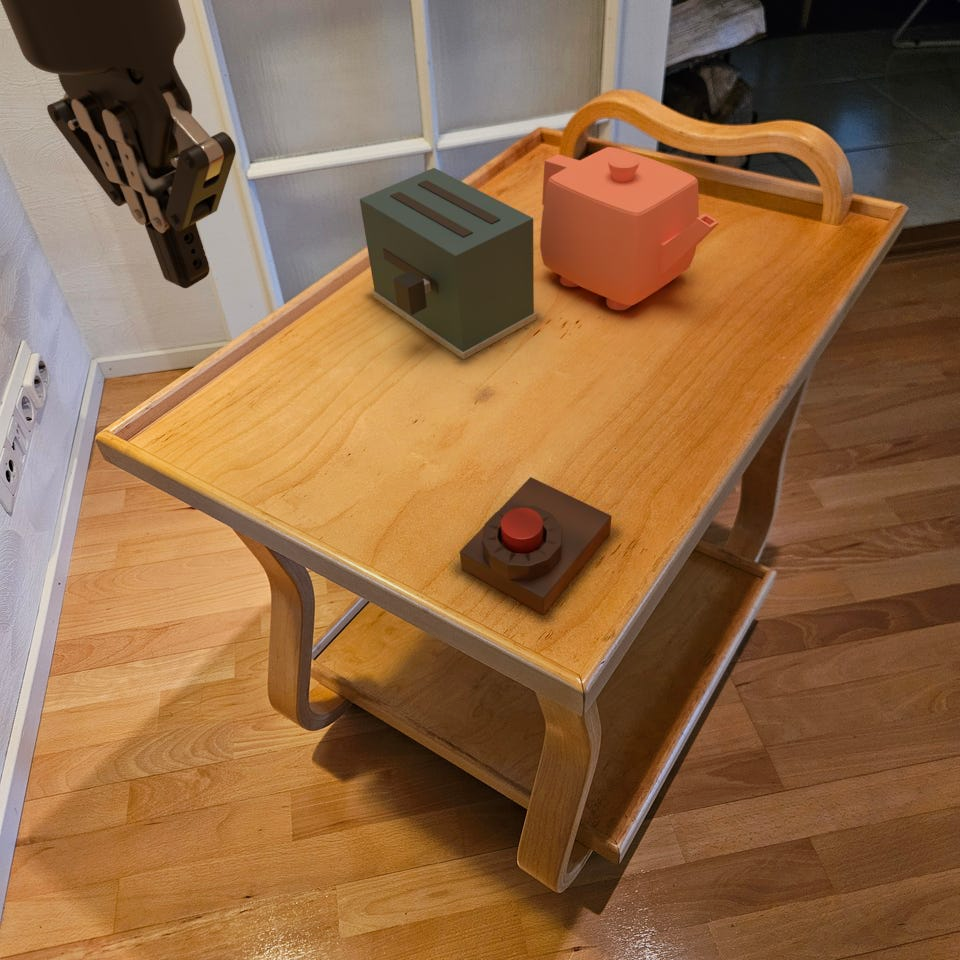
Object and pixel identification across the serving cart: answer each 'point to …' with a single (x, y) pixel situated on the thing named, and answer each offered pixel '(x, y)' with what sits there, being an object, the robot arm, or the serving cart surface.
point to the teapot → (619, 223)
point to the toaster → (452, 258)
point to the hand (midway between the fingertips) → (188, 278)
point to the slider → (411, 292)
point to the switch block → (554, 562)
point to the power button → (522, 530)
